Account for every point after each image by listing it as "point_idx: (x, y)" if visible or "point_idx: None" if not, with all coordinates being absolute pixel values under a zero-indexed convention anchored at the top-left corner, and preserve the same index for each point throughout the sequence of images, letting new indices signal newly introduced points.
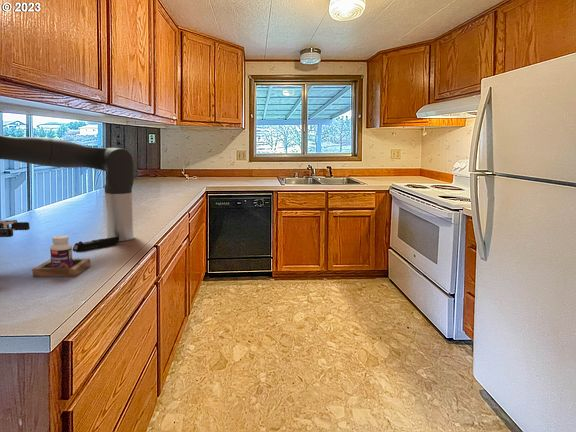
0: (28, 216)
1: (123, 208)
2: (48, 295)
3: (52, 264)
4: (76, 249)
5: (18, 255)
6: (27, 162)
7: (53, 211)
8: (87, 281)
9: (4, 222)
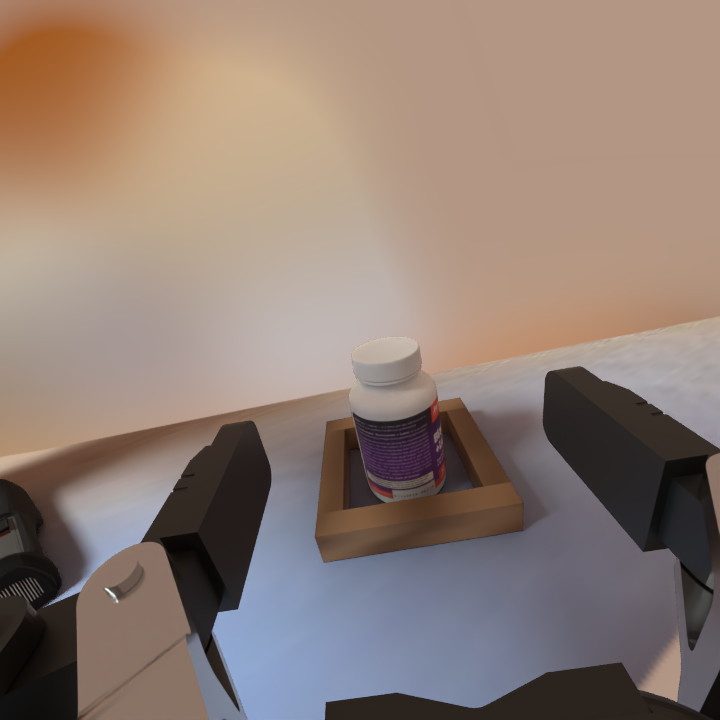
0: None
1: None
2: (646, 386)
3: (440, 460)
4: (40, 593)
5: None
6: None
7: None
8: (488, 383)
9: (203, 667)
